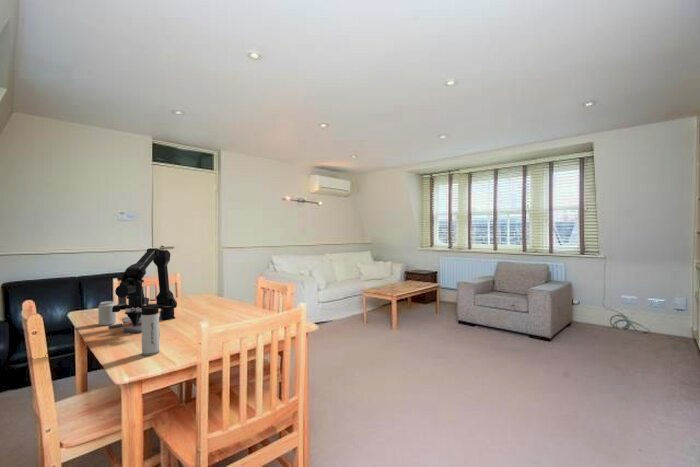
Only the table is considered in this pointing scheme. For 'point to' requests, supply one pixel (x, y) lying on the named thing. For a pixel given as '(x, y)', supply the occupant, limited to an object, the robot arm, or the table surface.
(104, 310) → the can
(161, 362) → the table surface
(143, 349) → the travel mug
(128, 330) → the pot
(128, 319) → the lid
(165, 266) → the robot arm
